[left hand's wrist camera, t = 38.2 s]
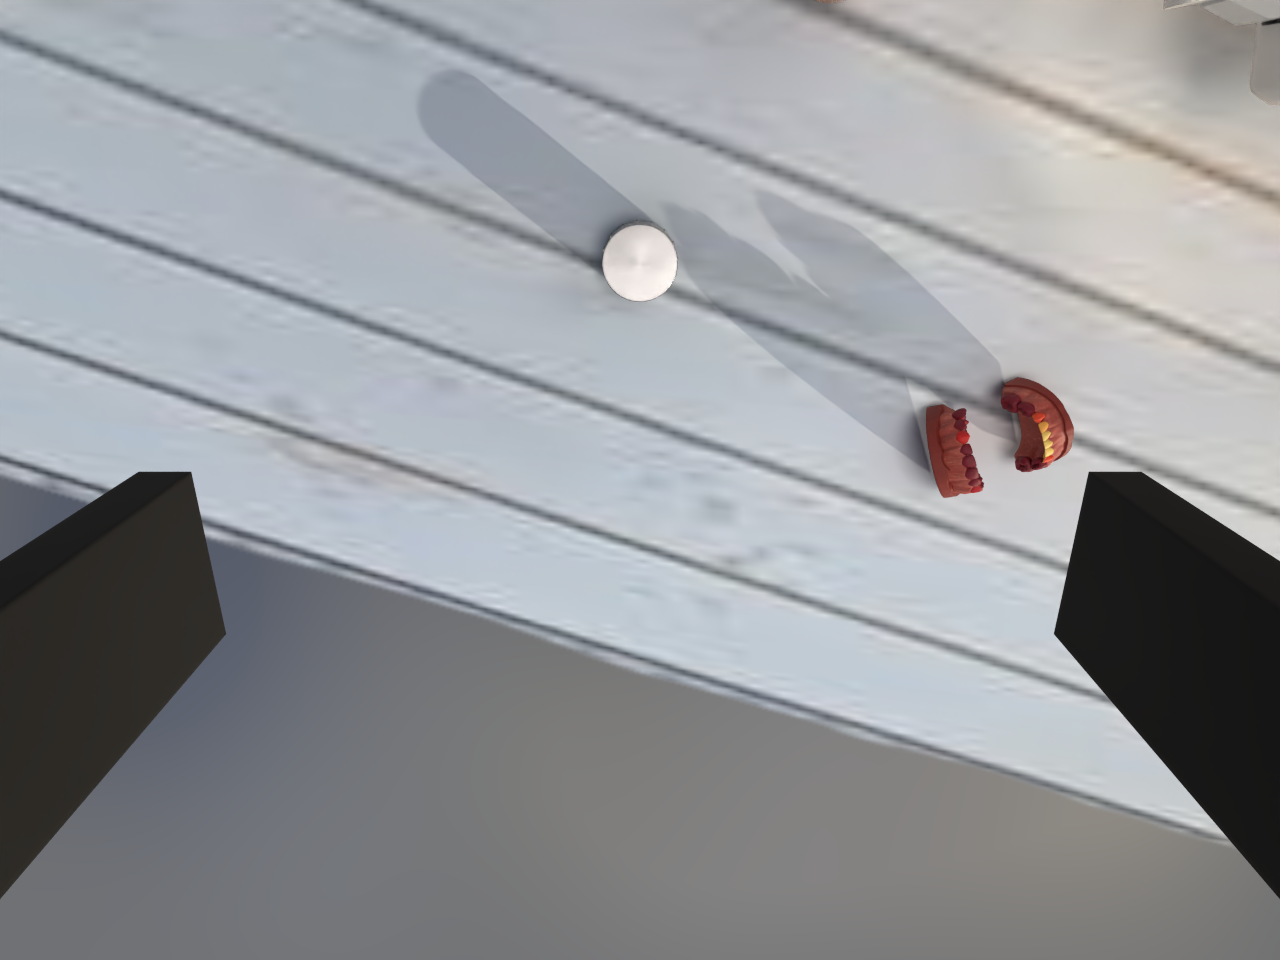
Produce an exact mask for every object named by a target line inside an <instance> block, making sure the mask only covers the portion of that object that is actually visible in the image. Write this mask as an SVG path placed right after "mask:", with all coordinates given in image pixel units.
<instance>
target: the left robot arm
mask: <svg viewBox="0 0 1280 960" xmlns="http://www.w3.org/2000/svg"><path fill="white" fill-rule="evenodd" d="M225 635H226V632H225V627H224V622H223V618H222V613H221V608H220V604H219V599H218V594H217V590H216V585H215V581H214V576H213V571H212V567H211V562H210V557H209V553H208V548H207V543H206V539H205V534H204V529H203V525H202V520H201V515H200V511H199V506H198V502H197V497H196V492H195V488H194V483H193V478H192V474H191V472H138V473H136V474H135V475H133V476H132V477H130V478H128V479H127V480H125V481H124V482H122V483H121V484H119V485H118V486H116V487H114V488H113V489H111V490H110V491H108V492H107V493H105V494H104V495H102V496H101V497H99V498H97V499H96V500H94V501H93V502H91V503H90V504H88V505H87V506H85V507H83V508H82V509H80V510H79V511H77V512H76V513H74V514H73V515H71V516H70V517H68V518H66V519H65V520H63V521H62V522H60V523H59V524H57V525H56V526H54V527H52V528H51V529H49V530H48V531H46V532H45V533H43V534H42V535H40V536H39V537H37V538H35V539H34V540H32V541H31V542H29V543H28V544H26V545H25V546H23V547H22V548H20V549H18V550H17V551H15V552H14V553H12V554H11V555H9V556H8V557H6V558H4V559H3V560H1V561H0V898H1V897H2V896H3V895H4V894H5V893H6V891H7V890H8V889H9V888H10V887H11V886H12V884H13V883H14V882H15V881H16V880H17V879H18V877H19V876H20V875H21V874H22V873H23V872H24V870H25V869H26V868H27V867H28V866H29V864H30V863H31V862H32V861H33V860H34V859H35V857H36V856H37V855H38V854H39V853H40V852H41V850H42V849H43V848H44V847H45V846H46V845H47V843H48V842H49V841H50V840H51V839H52V837H53V836H54V835H55V834H56V833H57V832H58V830H59V829H60V828H61V827H62V826H63V825H64V823H65V822H66V821H67V820H68V819H69V818H70V816H71V815H72V814H73V813H74V812H75V811H76V809H77V808H78V807H79V806H80V805H81V803H82V802H83V801H84V800H85V799H86V798H87V796H88V795H89V794H90V793H91V792H92V791H93V789H94V788H95V787H96V786H97V785H98V784H99V782H100V781H101V780H102V779H103V778H104V777H105V775H106V774H107V773H108V772H109V771H110V769H111V768H112V767H113V766H114V765H115V764H116V762H117V761H118V760H119V759H120V758H121V757H122V755H123V754H124V753H125V752H126V751H127V749H128V748H129V747H130V746H131V745H132V744H133V742H134V741H135V740H136V739H137V738H138V737H139V735H140V734H141V733H142V732H143V731H144V730H145V728H146V727H147V726H148V725H149V724H150V723H151V721H152V720H153V719H154V718H155V717H156V716H157V714H158V713H159V712H160V711H161V710H162V708H163V707H164V706H165V705H166V704H167V703H168V701H169V700H170V699H171V698H172V697H173V696H174V694H175V693H176V692H177V691H178V690H179V688H180V687H181V686H182V685H183V684H184V683H185V682H186V680H187V679H188V678H189V677H190V676H191V674H192V673H193V672H194V671H195V670H196V669H197V667H198V666H199V665H200V664H201V663H202V662H203V660H204V659H205V658H206V657H207V656H208V654H209V653H210V652H211V651H212V650H213V649H214V647H215V646H216V645H217V644H218V643H219V642H220V640H221V639H222V638H223V637H224V636H225ZM1054 635H1055V636H1056V637H1057V638H1058V639H1059V640H1060V642H1061V643H1062V644H1063V645H1064V646H1065V647H1066V649H1067V650H1068V651H1069V652H1070V653H1071V655H1072V656H1073V657H1074V658H1075V659H1076V660H1077V662H1078V663H1079V664H1080V665H1081V666H1082V667H1083V669H1084V670H1085V671H1086V672H1087V673H1088V674H1089V676H1090V677H1091V678H1092V679H1093V680H1094V682H1095V683H1096V684H1097V685H1098V686H1099V687H1100V689H1101V690H1102V691H1103V692H1104V693H1105V694H1106V696H1107V697H1108V698H1109V699H1110V700H1111V701H1112V703H1113V704H1114V705H1115V706H1116V707H1117V708H1118V710H1119V711H1120V712H1121V713H1122V714H1123V716H1124V717H1125V718H1126V719H1127V720H1128V721H1129V723H1130V724H1131V725H1132V726H1133V727H1134V728H1135V730H1136V731H1137V732H1138V733H1139V734H1140V735H1141V737H1142V738H1143V739H1144V740H1145V741H1146V743H1147V744H1148V745H1149V746H1150V747H1151V748H1152V750H1153V751H1154V752H1155V753H1156V754H1157V755H1158V757H1159V758H1160V759H1161V760H1162V761H1163V762H1164V764H1165V765H1166V766H1167V767H1168V768H1169V769H1170V771H1171V772H1172V773H1173V774H1174V775H1175V777H1176V778H1177V779H1178V780H1179V781H1180V782H1181V784H1182V785H1183V786H1184V787H1185V788H1186V789H1187V791H1188V792H1189V793H1190V794H1191V795H1192V796H1193V798H1194V799H1195V800H1196V801H1197V802H1198V803H1199V805H1200V806H1201V807H1202V808H1203V809H1204V811H1205V812H1206V813H1207V814H1208V815H1209V816H1210V818H1211V819H1212V820H1213V821H1214V822H1215V823H1216V825H1217V826H1218V827H1219V828H1220V829H1221V830H1222V832H1223V833H1224V834H1225V835H1226V836H1227V838H1228V839H1229V840H1230V841H1231V842H1232V843H1233V845H1234V846H1235V847H1236V848H1237V849H1238V850H1239V852H1240V853H1241V854H1242V855H1243V856H1244V857H1245V859H1246V860H1247V861H1248V862H1249V863H1250V864H1251V866H1252V867H1253V868H1254V869H1255V870H1256V872H1257V873H1258V874H1259V875H1260V876H1261V877H1262V879H1263V880H1264V881H1265V882H1266V883H1267V884H1268V886H1269V887H1270V888H1271V889H1272V890H1273V891H1274V893H1275V894H1276V895H1277V896H1278V897H1279V898H1280V561H1279V560H1277V559H1276V558H1274V557H1272V556H1271V555H1269V554H1268V553H1266V552H1265V551H1263V550H1262V549H1260V548H1259V547H1257V546H1255V545H1254V544H1252V543H1251V542H1249V541H1248V540H1246V539H1245V538H1243V537H1241V536H1240V535H1238V534H1237V533H1235V532H1234V531H1232V530H1231V529H1229V528H1228V527H1226V526H1224V525H1223V524H1221V523H1220V522H1218V521H1217V520H1215V519H1214V518H1212V517H1210V516H1209V515H1207V514H1206V513H1204V512H1203V511H1201V510H1200V509H1198V508H1197V507H1195V506H1193V505H1192V504H1190V503H1189V502H1187V501H1186V500H1184V499H1183V498H1181V497H1179V496H1178V495H1176V494H1175V493H1173V492H1172V491H1170V490H1169V489H1167V488H1166V487H1164V486H1162V485H1161V484H1159V483H1158V482H1156V481H1155V480H1153V479H1152V478H1150V477H1148V476H1147V475H1145V474H1144V473H1142V472H1089V474H1088V478H1087V483H1086V488H1085V492H1084V497H1083V502H1082V506H1081V511H1080V515H1079V520H1078V525H1077V529H1076V534H1075V539H1074V543H1073V548H1072V553H1071V557H1070V562H1069V567H1068V571H1067V576H1066V580H1065V585H1064V590H1063V594H1062V599H1061V604H1060V608H1059V613H1058V618H1057V622H1056V627H1055V632H1054Z"/></svg>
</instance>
